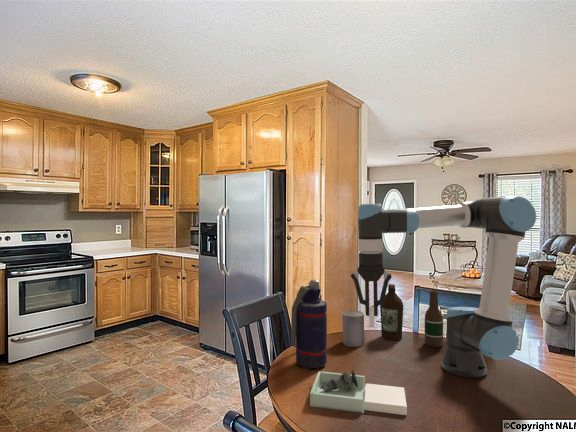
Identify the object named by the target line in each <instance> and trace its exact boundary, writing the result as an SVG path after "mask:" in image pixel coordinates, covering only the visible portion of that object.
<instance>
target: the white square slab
mask: <svg viewBox="0 0 576 432" xmlns="http://www.w3.org/2000/svg"><path fill="white" fill-rule="evenodd" d="M365 387H366V388H365V401H364V411H371V412H377V413H378V412H379V413H385V414H394V415H400V416H401V415H402V416H407V415H408V405H407V400H406V399H407V397H406V391H405V387H402V386H394V385H384V384H375V383H365Z"/></svg>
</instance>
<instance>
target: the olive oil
mask: <svg viewBox="0 0 576 432" xmlns="http://www.w3.org/2000/svg"><path fill="white" fill-rule="evenodd" d="M379 308H380V309H379V311H380V331H381V333H380V334H381V336H380V337H381V338H382V339H384V340H386V341H392V342H394V341H396V342H397V341H401V340H403V326H404V325H403V324H404V322H403V320H404V302H403V300H402V299H401V297H400V296H399V295H398V294H397V293H396V284H393V283H388V286H387V292H386V294H385V299H384V303H383V304H382V305H379Z"/></svg>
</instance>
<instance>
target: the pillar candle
mask: <svg viewBox="0 0 576 432" xmlns="http://www.w3.org/2000/svg"><path fill="white" fill-rule="evenodd" d="M342 344H343V345H344V346H346V347H350V348H351V347H352V348H353V347H354V348H355V347H357V348H358V347H359V348H360V347H363V346H364V345H365V314H364V312H363V311H360V310H353V309H352V310H350V309H349V310H345V311H342Z"/></svg>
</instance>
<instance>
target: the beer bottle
mask: <svg viewBox="0 0 576 432" xmlns="http://www.w3.org/2000/svg"><path fill="white" fill-rule="evenodd" d="M428 293H429V303H428V308H427V310H426V312H425V313H424V344H425V345H426V346H428V347H431V348H441V347H443V346H444V317H443V314H442V312H441V311H440V307H439V298H438V297H439V291H437V290H435V289H431V290H429V292H428Z"/></svg>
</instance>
